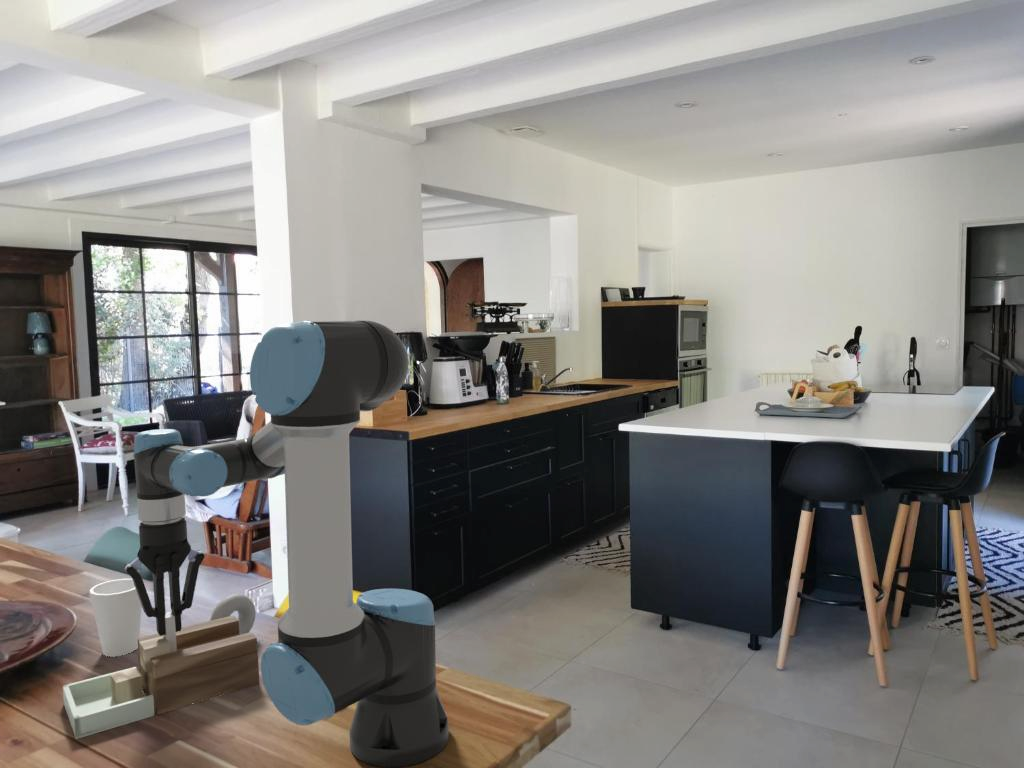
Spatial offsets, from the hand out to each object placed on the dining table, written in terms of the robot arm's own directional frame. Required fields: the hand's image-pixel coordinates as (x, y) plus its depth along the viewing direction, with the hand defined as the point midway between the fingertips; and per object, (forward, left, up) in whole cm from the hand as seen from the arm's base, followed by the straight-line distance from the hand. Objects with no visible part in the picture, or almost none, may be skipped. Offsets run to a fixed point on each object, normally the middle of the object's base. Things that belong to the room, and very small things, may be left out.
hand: (170, 650), depth 136 cm
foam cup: (+25, +4, -8) cm, 26 cm away
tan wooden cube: (+1, +5, -5) cm, 7 cm away
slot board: (0, -4, -7) cm, 9 cm away
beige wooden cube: (-1, +3, -1) cm, 3 cm away
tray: (0, +10, -7) cm, 13 cm away
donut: (+14, -15, -8) cm, 22 cm away
